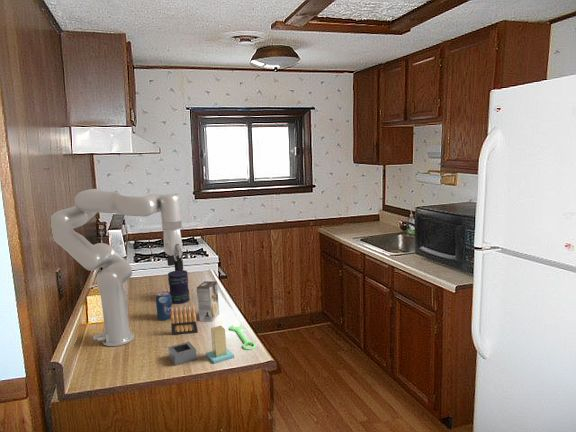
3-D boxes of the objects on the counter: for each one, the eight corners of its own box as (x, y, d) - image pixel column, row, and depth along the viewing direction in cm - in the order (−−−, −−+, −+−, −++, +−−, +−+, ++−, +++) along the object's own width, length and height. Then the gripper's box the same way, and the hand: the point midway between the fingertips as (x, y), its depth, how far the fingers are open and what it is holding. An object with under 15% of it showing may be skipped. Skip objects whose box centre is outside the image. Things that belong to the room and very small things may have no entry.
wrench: (240, 327, 196) (228, 329, 194) (240, 323, 196) (228, 325, 194) (257, 349, 173) (244, 352, 171) (257, 344, 173) (244, 347, 171)
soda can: (168, 321, 204) (166, 296, 202) (154, 320, 205) (152, 295, 203) (175, 315, 210) (173, 291, 208) (162, 315, 212) (159, 290, 210)
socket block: (175, 365, 162) (174, 355, 161) (169, 357, 169) (168, 347, 168) (196, 359, 166) (195, 349, 165) (189, 351, 173) (188, 341, 172)
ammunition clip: (171, 335, 188) (169, 308, 187) (172, 333, 190) (169, 306, 188) (197, 332, 190) (195, 305, 188) (197, 331, 192) (195, 304, 190)
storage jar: (166, 303, 227) (163, 275, 224) (175, 297, 236) (173, 269, 234) (184, 304, 224) (182, 275, 222) (193, 298, 234) (190, 270, 231)
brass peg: (216, 357, 165) (214, 331, 163) (212, 353, 168) (210, 328, 166) (226, 354, 166) (224, 329, 165) (222, 350, 170) (220, 325, 168)
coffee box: (206, 313, 211) (204, 280, 209) (219, 314, 210) (217, 281, 207) (199, 321, 202) (196, 287, 200) (212, 321, 201) (209, 287, 198)
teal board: (214, 363, 162) (213, 361, 162) (206, 355, 169) (205, 352, 169) (234, 357, 166) (234, 355, 166) (225, 349, 173) (225, 347, 173)
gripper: (156, 224, 182) (160, 264, 185) (168, 230, 167) (172, 274, 170) (174, 221, 186) (178, 261, 189) (188, 227, 171) (191, 270, 174)
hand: (175, 267), depth 179 cm, fingers open, 9 cm apart
